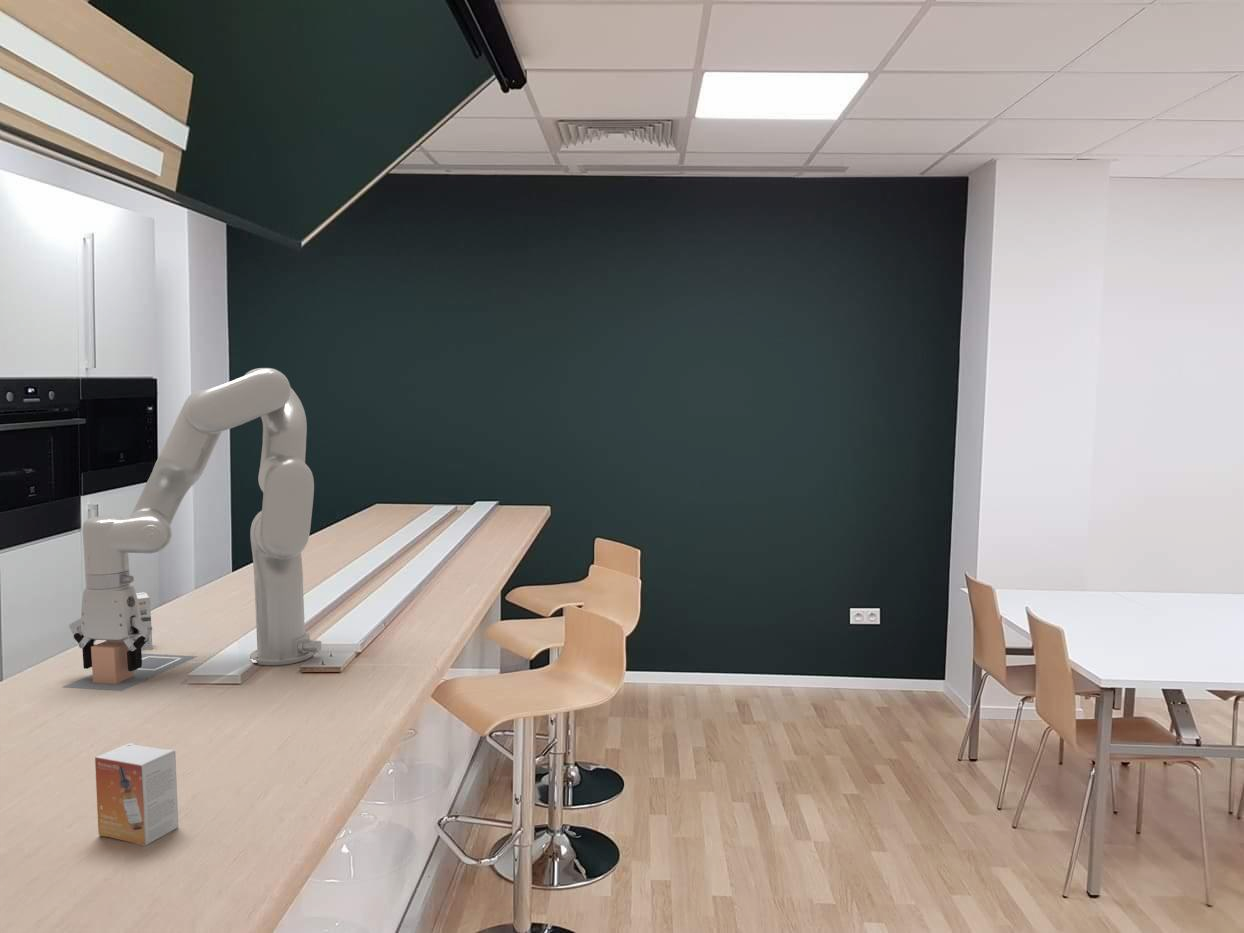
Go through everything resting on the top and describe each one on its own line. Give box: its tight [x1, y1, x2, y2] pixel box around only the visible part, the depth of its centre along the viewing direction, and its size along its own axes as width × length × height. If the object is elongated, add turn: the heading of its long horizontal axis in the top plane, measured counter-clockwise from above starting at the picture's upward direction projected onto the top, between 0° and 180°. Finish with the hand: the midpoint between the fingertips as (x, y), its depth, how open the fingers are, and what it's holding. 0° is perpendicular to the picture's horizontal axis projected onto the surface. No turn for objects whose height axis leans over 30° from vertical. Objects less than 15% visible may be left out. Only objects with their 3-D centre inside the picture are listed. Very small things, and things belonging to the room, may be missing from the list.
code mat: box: [62, 653, 198, 692], centre depth 197 cm, size 13×23×1 cm, turn 168°
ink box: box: [105, 591, 153, 651], centre depth 213 cm, size 8×5×12 cm, turn 123°
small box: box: [94, 742, 179, 847], centre depth 127 cm, size 8×6×10 cm
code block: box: [91, 640, 134, 684], centre depth 191 cm, size 5×5×7 cm
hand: (112, 668), depth 191 cm, fingers open, 9 cm apart
